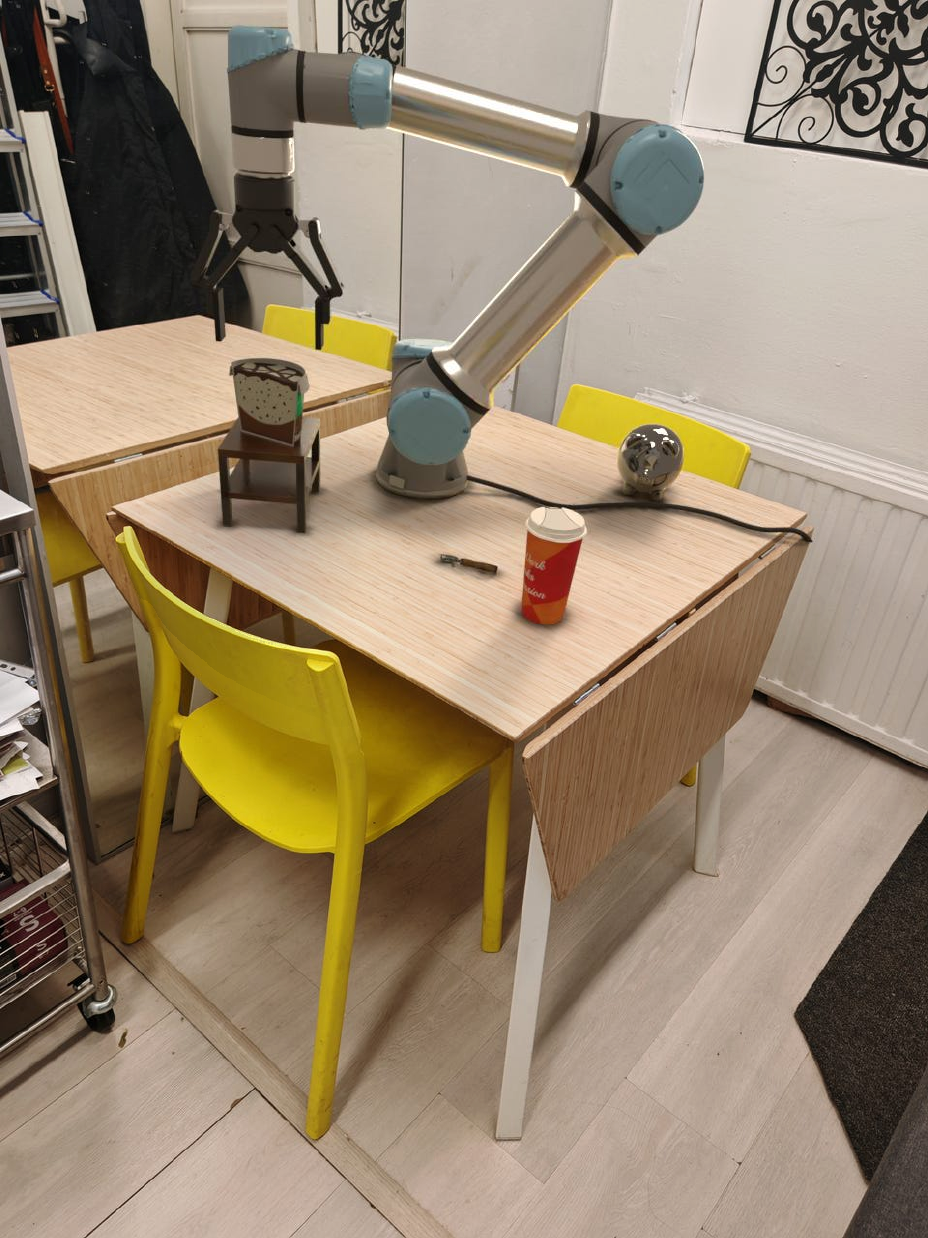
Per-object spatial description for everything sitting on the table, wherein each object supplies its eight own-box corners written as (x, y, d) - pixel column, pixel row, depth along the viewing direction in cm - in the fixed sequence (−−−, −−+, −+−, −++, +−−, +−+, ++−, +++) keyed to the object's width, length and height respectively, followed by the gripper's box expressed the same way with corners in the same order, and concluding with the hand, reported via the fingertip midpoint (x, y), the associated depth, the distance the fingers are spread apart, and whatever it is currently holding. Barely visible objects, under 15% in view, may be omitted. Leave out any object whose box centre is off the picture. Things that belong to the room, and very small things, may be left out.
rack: (320, 489, 144) (320, 418, 138) (305, 532, 132) (304, 456, 125) (245, 483, 144) (241, 411, 137) (222, 526, 131) (217, 448, 125)
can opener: (498, 571, 126) (499, 564, 126) (491, 578, 125) (492, 571, 124) (440, 554, 129) (441, 547, 129) (433, 561, 127) (434, 553, 127)
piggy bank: (604, 502, 149) (616, 437, 143) (617, 469, 162) (629, 408, 155) (671, 516, 147) (686, 450, 141) (679, 481, 159) (693, 419, 153)
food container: (326, 436, 132) (327, 369, 126) (302, 449, 127) (301, 380, 121) (258, 417, 136) (255, 351, 130) (232, 429, 131) (228, 360, 126)
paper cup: (509, 596, 121) (522, 502, 114) (565, 598, 122) (581, 505, 115) (517, 629, 115) (531, 531, 107) (576, 630, 116) (594, 534, 108)
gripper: (366, 178, 116) (363, 342, 128) (172, 160, 115) (186, 327, 127) (360, 186, 110) (357, 358, 121) (154, 167, 109) (171, 342, 120)
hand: (270, 343), depth 124 cm, fingers open, 13 cm apart
